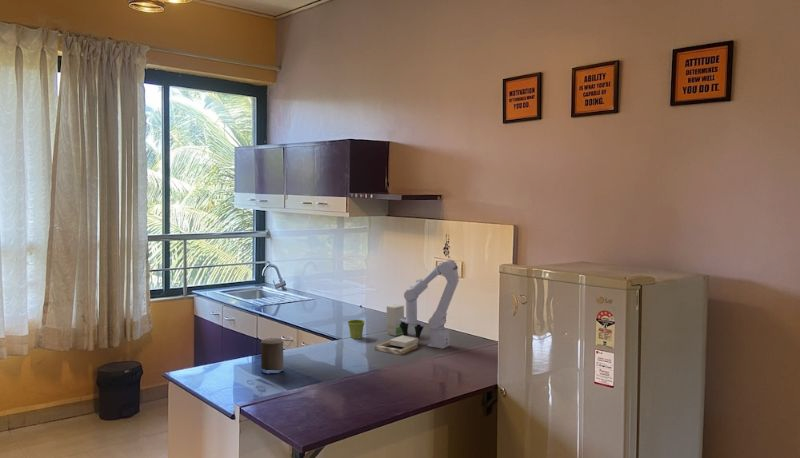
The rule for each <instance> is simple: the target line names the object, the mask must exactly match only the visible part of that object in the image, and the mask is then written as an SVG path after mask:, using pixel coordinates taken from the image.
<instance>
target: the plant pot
mask: <svg viewBox="0 0 800 458" xmlns="http://www.w3.org/2000/svg"><path fill="white" fill-rule="evenodd" d="M347 323H348V327H349V335H350V338H352V339H354V340H355V339H356V340H358V339H362V338H363V333H364V332H363V331H364V326H365V323H366V321H365V320H363V319H351V320H348V321H347Z"/></svg>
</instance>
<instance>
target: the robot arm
mask: <svg viewBox="0 0 800 458" xmlns="http://www.w3.org/2000/svg"><path fill="white" fill-rule="evenodd" d="M458 270H459V266H458V265H457V263H456V262H455V261H454V260H453V259H448V260H446V261H442V262H440V263H439V264H438V265H436V266H435V267H434V268H433V269H432V270H431V271H430V272H429V273H428V274H427V275H426V276H425V277H424V278H423V279H422V278H419V279H416V281H415V283H414V284H413V285H411V286H410V287H409V289H406V290H405V292H404V294H403V297H404V299H405V318H404V319H399V323H401V324H400V327H401V329H402V332H403V334H402V335H404V336H409V335H408V332H409V330H408V329H409V325H412V326H414V325H415V326H414V327H413V328H414V330H415V338H418V340H420V338H421V334H422V331H423V330H424V327H425V321H421V320H418V298H419V296H420V295H421V294H422V293H424V291H425V290H427V289H428V284H429V283H430V282H431V281H433V280H434V279H435V278H436V277H438V276H439V275H442V276H443V277H444V278H445V280H446V284H445V287H444V290H443V292H442V295H441V297H440V300H439V302H438V305H437V307H436V309H435V311H434V312H433V314H432V316H431V317H430V318H429V319H428V327H429V329H430V330H429V331H430V332H429V335H430V336H429V337H430V338H429V340H430V341H429V342H430V343H428V344H427V345H426V346H427V347H432V348H437V349H442V350H443V349H445V348H448V347H450V346H451V344H450V343H451V342H450V340H451V339H450V338H451V337H450V336H451V335H450V331H449V330H448V329H446V328H445V325H446V322H447V316H448V313H447V311H448V309H449V306H450V304H451V301H452V299H453V296H454V294H455V291H456V289H457V286H458V284H459V280H460V279H459V271H458Z"/></svg>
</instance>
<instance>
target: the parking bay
mask: <svg viewBox="0 0 800 458" xmlns="http://www.w3.org/2000/svg"><path fill="white" fill-rule="evenodd" d="M390 340H391V339H389V340H386V341H384V342H381V343H378V344H376V345H374V350H375V351H379V352H384V353H388V354H393V355H394V354H395V355H404V354H407V353H409V352H411V351H413V350H416V349H419V345H418V344H413V345H410V346H408V347H405V348H404V347H402V348H401V349H399V348H394V347H389V346H391V345H390Z"/></svg>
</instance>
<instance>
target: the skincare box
mask: <svg viewBox="0 0 800 458" xmlns="http://www.w3.org/2000/svg"><path fill="white" fill-rule="evenodd" d="M399 319H405V305H401V304H393V305H387V306H386V335H389V336H393V337H394V336H395V337H396V336H397V337H398V336H401V335H403V332H402V329H401V327H400V324H401V323H399Z"/></svg>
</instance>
